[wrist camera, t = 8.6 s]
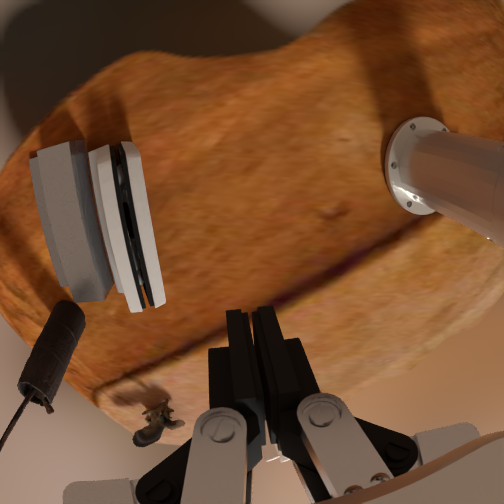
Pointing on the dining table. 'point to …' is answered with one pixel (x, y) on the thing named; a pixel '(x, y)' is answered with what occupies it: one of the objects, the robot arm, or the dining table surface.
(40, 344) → the butter churn
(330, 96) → the dining table surface
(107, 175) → the hinge
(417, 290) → the dining table surface
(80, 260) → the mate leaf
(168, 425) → the brown animal figurine
